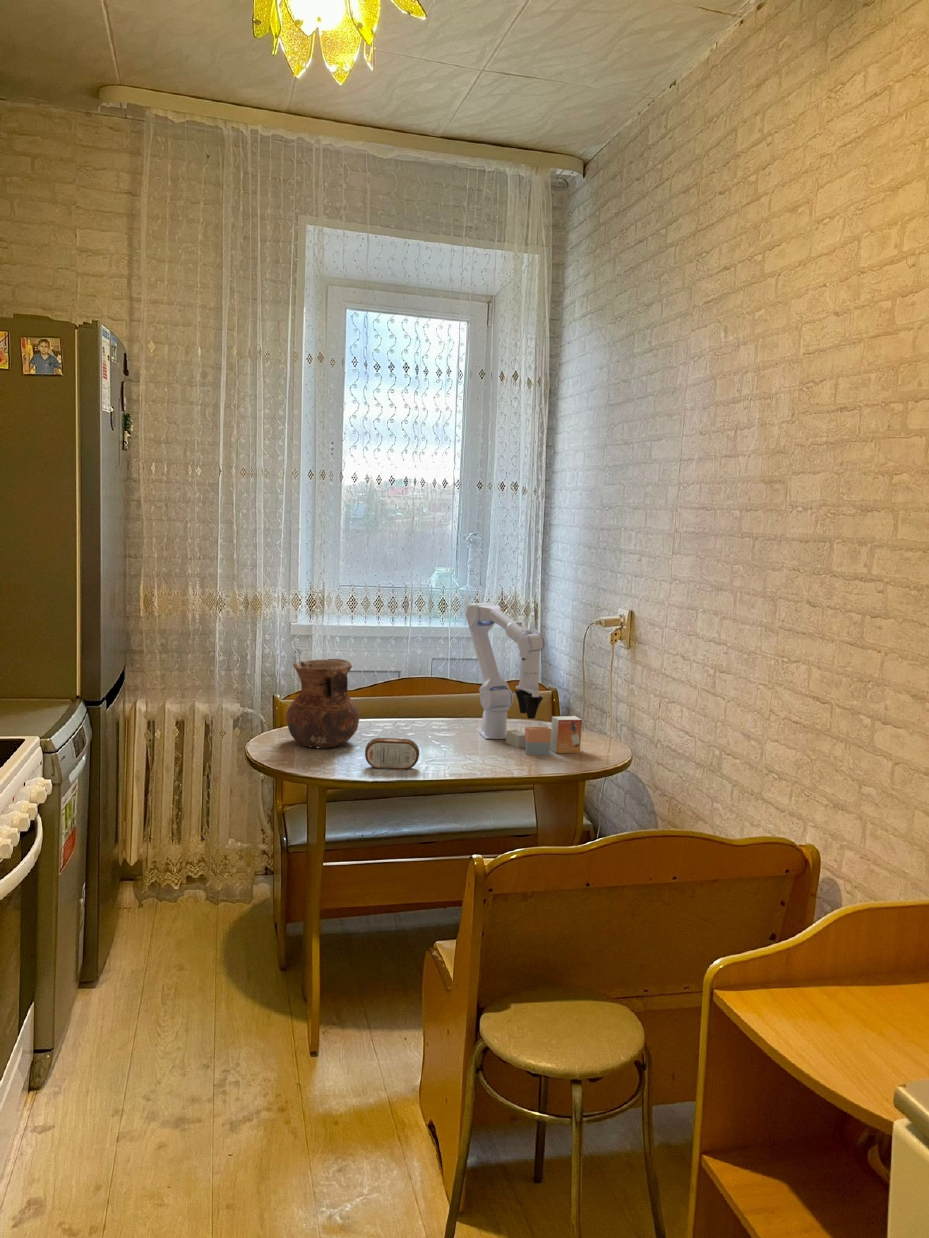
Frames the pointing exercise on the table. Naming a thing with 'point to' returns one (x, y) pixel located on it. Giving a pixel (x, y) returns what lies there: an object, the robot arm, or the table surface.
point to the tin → (392, 753)
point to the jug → (323, 705)
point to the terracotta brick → (537, 734)
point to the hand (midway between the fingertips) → (527, 715)
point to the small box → (566, 734)
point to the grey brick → (515, 738)
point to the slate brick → (537, 748)
